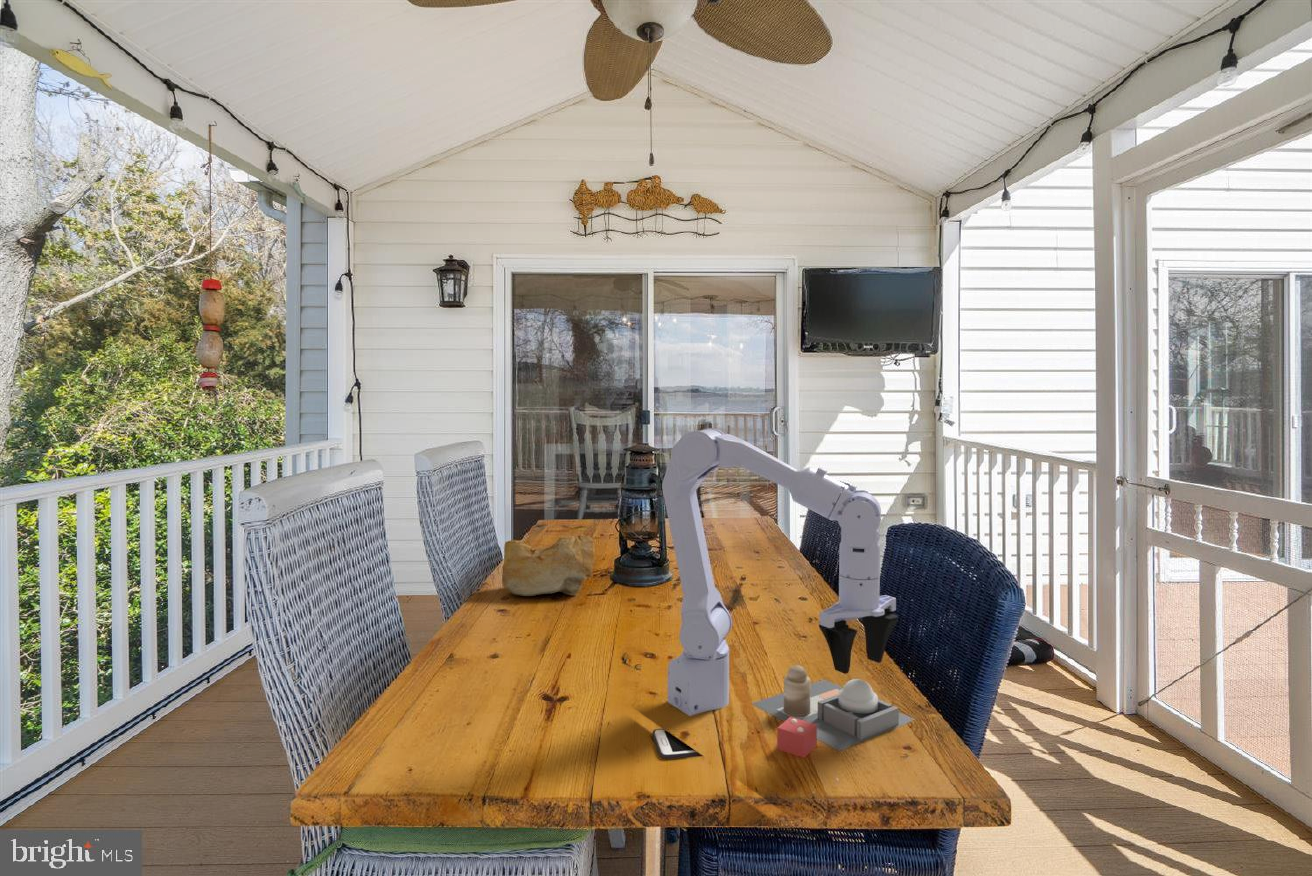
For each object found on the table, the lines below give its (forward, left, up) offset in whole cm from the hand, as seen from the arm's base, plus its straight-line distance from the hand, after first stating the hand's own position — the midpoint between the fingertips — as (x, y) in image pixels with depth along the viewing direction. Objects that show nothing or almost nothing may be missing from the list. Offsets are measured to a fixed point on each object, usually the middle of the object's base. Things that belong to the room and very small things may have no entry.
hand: (858, 665), depth 104 cm
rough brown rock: (-5, +94, -10) cm, 94 cm away
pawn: (-5, +8, -8) cm, 12 cm away
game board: (-1, +5, -9) cm, 10 cm away
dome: (0, 0, -7) cm, 7 cm away
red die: (-13, 0, -9) cm, 16 cm away
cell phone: (-21, +10, -10) cm, 25 cm away
